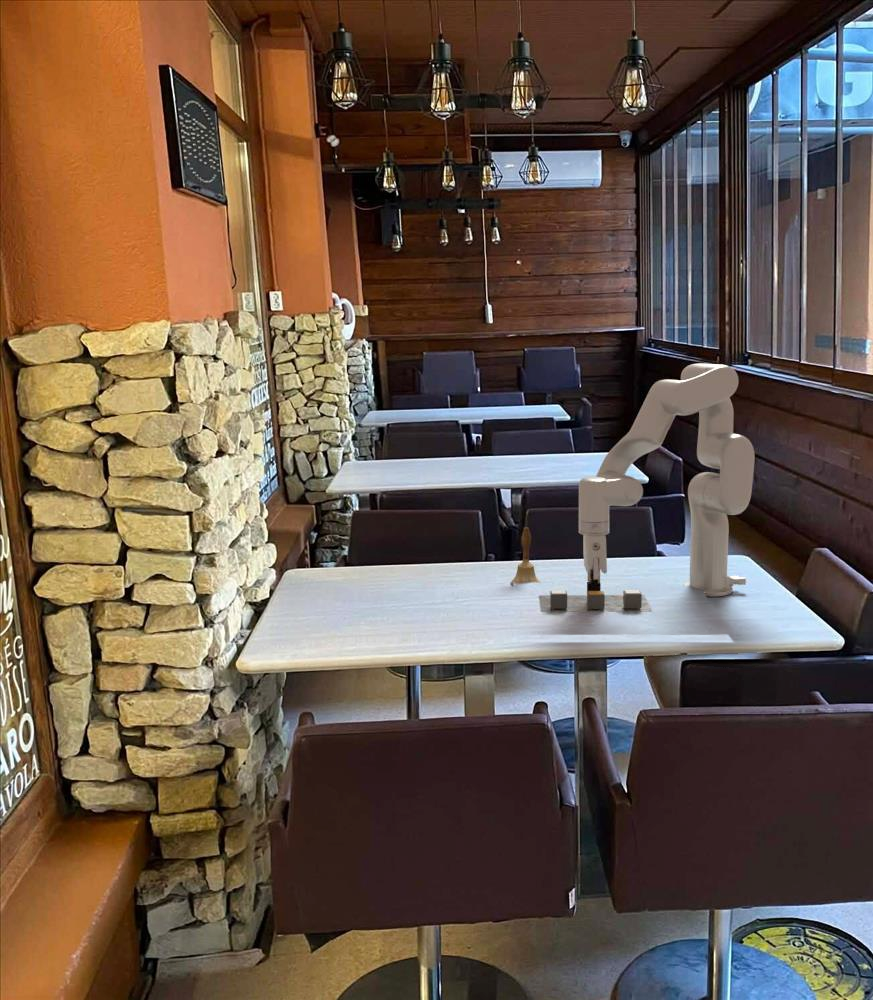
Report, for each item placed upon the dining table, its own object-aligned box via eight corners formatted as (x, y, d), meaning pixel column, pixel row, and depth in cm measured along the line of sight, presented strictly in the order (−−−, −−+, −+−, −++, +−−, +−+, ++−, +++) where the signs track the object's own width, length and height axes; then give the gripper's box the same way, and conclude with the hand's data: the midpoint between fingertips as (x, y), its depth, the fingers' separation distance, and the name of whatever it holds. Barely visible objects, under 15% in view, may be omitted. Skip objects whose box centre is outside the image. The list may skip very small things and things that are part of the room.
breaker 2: (639, 604, 233) (639, 589, 233) (641, 608, 230) (641, 593, 229) (623, 604, 234) (623, 589, 233) (624, 608, 230) (625, 593, 230)
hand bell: (540, 579, 265) (540, 524, 262) (540, 587, 257) (540, 530, 254) (511, 579, 266) (510, 524, 263) (510, 587, 258) (509, 530, 255)
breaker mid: (603, 605, 233) (603, 590, 233) (604, 608, 230) (604, 594, 230) (586, 605, 234) (586, 590, 233) (587, 608, 231) (588, 594, 230)
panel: (644, 600, 243) (644, 594, 242) (652, 617, 229) (652, 611, 229) (538, 601, 245) (538, 595, 244) (540, 617, 231) (540, 611, 231)
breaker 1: (566, 604, 235) (566, 590, 234) (567, 608, 231) (567, 593, 231) (550, 604, 235) (550, 590, 234) (550, 608, 232) (550, 593, 231)
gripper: (613, 533, 227) (612, 606, 230) (605, 520, 241) (605, 589, 245) (581, 533, 227) (581, 606, 231) (575, 520, 242) (575, 589, 245)
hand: (593, 597), depth 238 cm, fingers closed
